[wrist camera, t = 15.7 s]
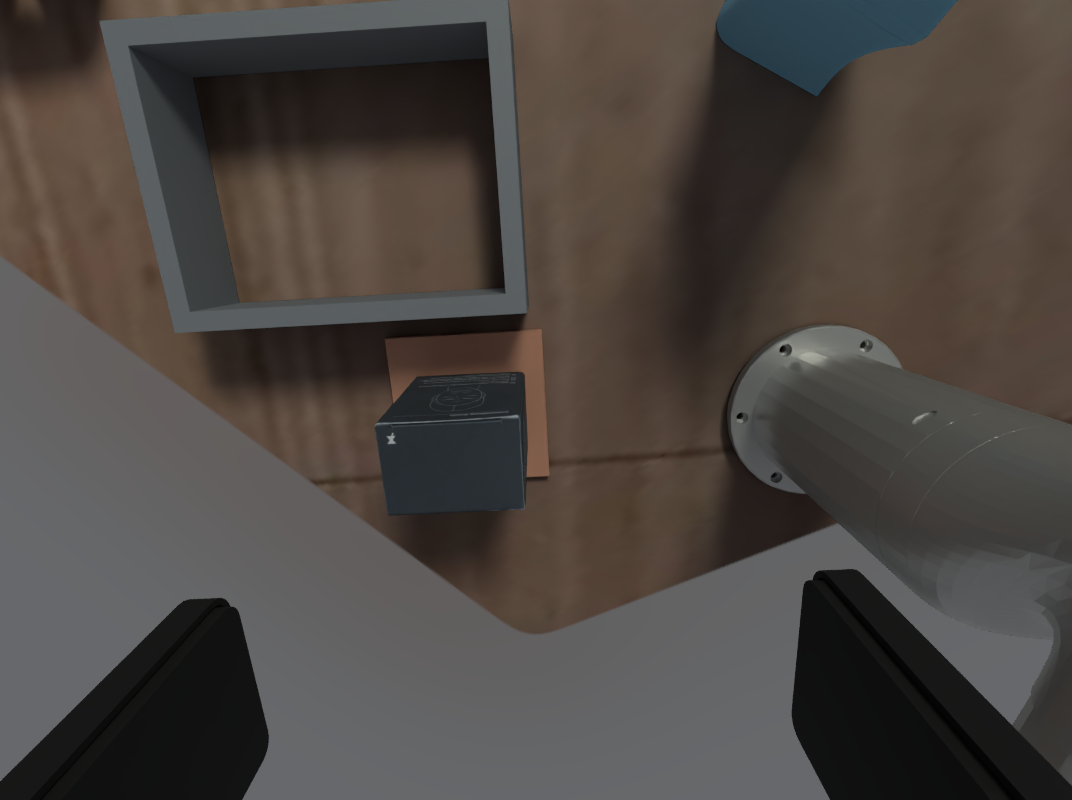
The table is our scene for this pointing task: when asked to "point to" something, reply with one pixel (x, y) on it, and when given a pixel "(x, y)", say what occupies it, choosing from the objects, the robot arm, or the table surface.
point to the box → (455, 445)
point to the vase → (823, 32)
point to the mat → (479, 357)
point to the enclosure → (277, 46)
